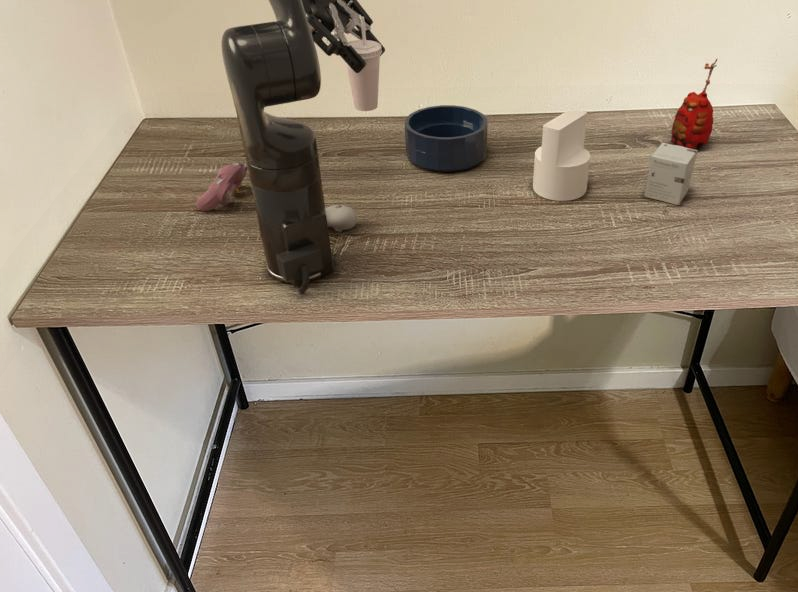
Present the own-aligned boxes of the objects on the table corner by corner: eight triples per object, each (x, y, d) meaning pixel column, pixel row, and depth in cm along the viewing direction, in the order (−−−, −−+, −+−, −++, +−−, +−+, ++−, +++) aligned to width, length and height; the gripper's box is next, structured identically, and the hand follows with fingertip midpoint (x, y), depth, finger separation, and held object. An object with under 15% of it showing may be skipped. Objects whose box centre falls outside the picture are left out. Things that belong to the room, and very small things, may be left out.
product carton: (643, 197, 125) (650, 155, 121) (654, 182, 130) (661, 141, 125) (679, 206, 123) (688, 163, 119) (689, 190, 127) (698, 148, 123)
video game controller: (219, 223, 122) (229, 189, 118) (192, 209, 122) (202, 175, 117) (244, 194, 130) (255, 161, 125) (220, 180, 129) (230, 147, 124)
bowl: (502, 160, 136) (504, 125, 132) (436, 182, 130) (435, 146, 125) (456, 132, 145) (456, 99, 141) (391, 152, 139) (389, 117, 134)
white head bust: (360, 228, 120) (354, 235, 116) (309, 226, 121) (302, 233, 116) (359, 200, 119) (354, 207, 114) (308, 198, 119) (301, 205, 114)
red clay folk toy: (661, 138, 143) (675, 57, 133) (692, 132, 145) (708, 51, 135) (687, 155, 137) (703, 71, 128) (718, 147, 140) (736, 64, 130)
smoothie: (383, 114, 123) (377, 23, 114) (344, 114, 123) (334, 23, 114) (387, 99, 128) (381, 10, 119) (349, 99, 128) (340, 10, 119)
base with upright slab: (568, 206, 123) (575, 135, 115) (522, 190, 127) (526, 121, 120) (596, 185, 129) (604, 116, 121) (551, 170, 133) (556, 103, 125)
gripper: (283, -33, 108) (366, 61, 113) (331, -55, 118) (404, 32, 123) (257, 3, 113) (337, 92, 117) (305, -21, 123) (377, 62, 128)
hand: (371, 61), depth 120 cm, fingers closed on smoothie, 6 cm apart
